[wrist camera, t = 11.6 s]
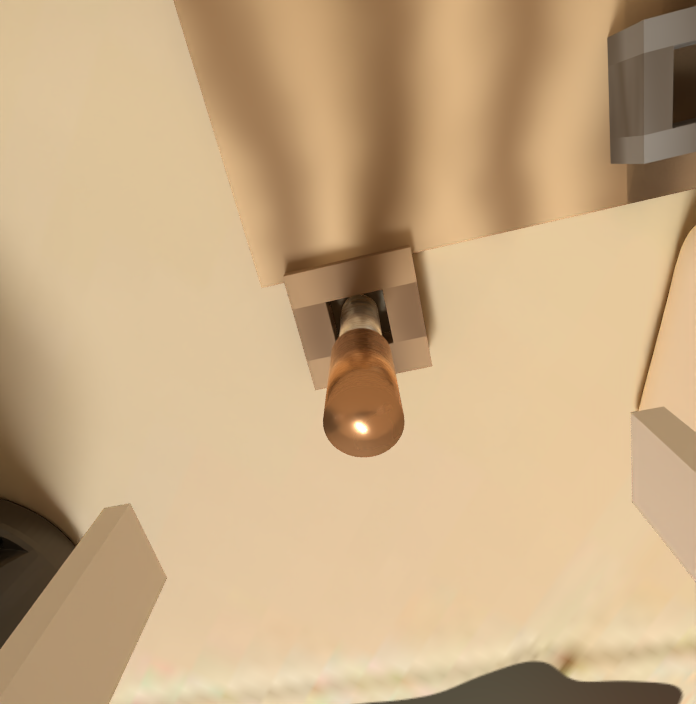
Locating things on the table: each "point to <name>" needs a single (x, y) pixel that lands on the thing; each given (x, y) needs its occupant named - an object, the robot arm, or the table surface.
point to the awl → (362, 385)
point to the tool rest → (354, 279)
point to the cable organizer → (676, 344)
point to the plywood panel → (439, 116)
